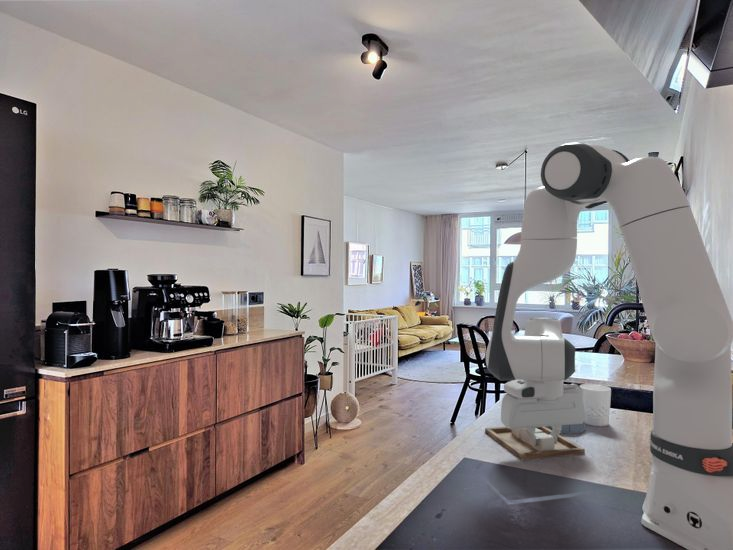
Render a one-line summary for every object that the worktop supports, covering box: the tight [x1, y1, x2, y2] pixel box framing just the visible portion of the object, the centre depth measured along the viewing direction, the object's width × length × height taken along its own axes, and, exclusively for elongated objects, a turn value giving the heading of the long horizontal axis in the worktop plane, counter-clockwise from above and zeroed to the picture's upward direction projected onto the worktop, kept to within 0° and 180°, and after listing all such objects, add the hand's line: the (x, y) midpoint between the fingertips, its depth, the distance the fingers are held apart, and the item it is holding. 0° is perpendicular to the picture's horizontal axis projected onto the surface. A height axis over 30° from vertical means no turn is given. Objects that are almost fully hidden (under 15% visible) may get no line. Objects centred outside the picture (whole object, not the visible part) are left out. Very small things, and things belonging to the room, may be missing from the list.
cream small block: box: [512, 429, 521, 438], centre depth 118 cm, size 4×3×3 cm
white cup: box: [579, 383, 612, 427], centre depth 130 cm, size 8×8×10 cm
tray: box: [484, 426, 586, 461], centre depth 114 cm, size 18×16×2 cm
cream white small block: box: [521, 428, 543, 446], centre depth 113 cm, size 4×3×3 cm
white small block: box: [533, 433, 555, 451], centre depth 109 cm, size 4×3×3 cm
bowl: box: [547, 422, 585, 434], centre depth 125 cm, size 11×11×4 cm
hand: (543, 444), depth 109 cm, fingers closed on white small block, 3 cm apart
